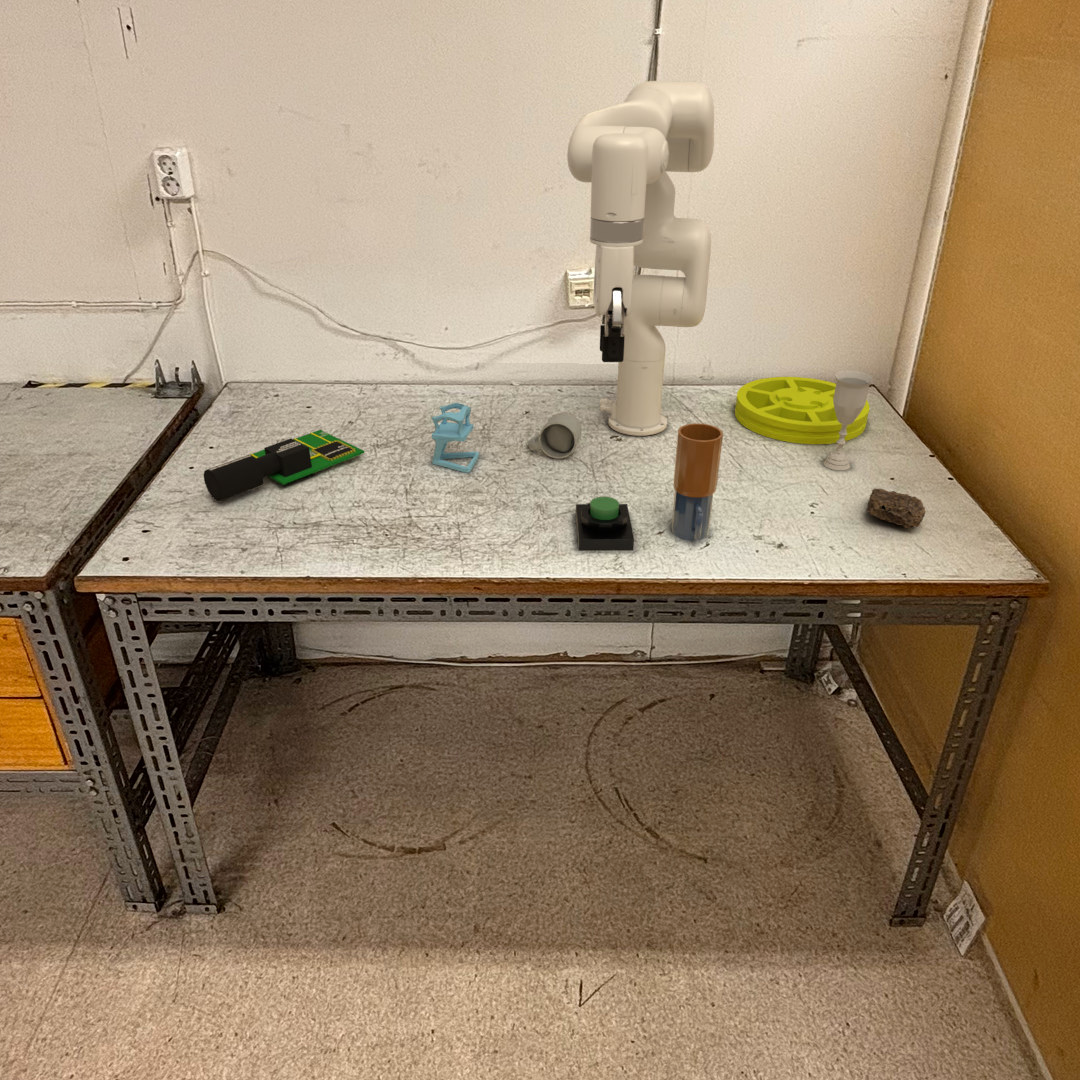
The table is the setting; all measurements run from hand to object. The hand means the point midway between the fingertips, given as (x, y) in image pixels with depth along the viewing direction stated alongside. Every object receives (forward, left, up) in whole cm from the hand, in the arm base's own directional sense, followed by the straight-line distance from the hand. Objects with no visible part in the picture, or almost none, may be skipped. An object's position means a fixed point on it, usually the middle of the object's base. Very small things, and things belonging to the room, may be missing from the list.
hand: (611, 355), depth 131 cm
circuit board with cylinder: (-65, -8, -31) cm, 73 cm away
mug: (+14, +6, -31) cm, 35 cm away
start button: (0, 0, -28) cm, 28 cm away
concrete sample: (+43, +28, -31) cm, 60 cm away
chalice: (+30, +45, -31) cm, 63 cm away
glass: (+13, +7, -23) cm, 27 cm away
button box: (0, 0, -31) cm, 31 cm away
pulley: (+18, +65, -31) cm, 74 cm away
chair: (-37, +11, -31) cm, 50 cm away
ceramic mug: (-22, +25, -31) cm, 46 cm away
